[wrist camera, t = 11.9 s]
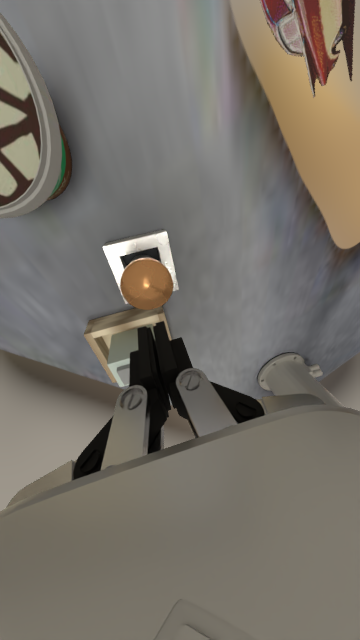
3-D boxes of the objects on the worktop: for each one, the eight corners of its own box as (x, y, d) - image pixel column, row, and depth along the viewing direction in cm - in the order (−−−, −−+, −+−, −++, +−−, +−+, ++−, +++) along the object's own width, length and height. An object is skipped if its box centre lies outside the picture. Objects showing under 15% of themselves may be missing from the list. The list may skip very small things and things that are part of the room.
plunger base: (163, 228, 26) (166, 231, 23) (174, 282, 30) (178, 289, 27) (105, 242, 25) (102, 247, 22) (126, 295, 29) (125, 304, 27)
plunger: (159, 243, 24) (166, 254, 19) (168, 283, 27) (177, 302, 22) (116, 253, 24) (111, 267, 18) (131, 293, 27) (130, 315, 21)
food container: (47, 237, 23) (0, 256, 15) (-11, 195, 20) (-112, 187, 12) (107, 150, 20) (90, 113, 12) (50, 85, 17) (-26, -26, 9)
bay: (160, 301, 31) (164, 312, 28) (174, 349, 37) (178, 363, 34) (89, 320, 30) (83, 334, 27) (114, 366, 36) (113, 382, 33)
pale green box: (111, 335, 31) (106, 368, 25) (152, 323, 32) (157, 353, 25) (122, 356, 34) (119, 391, 27) (159, 345, 35) (165, 377, 28)
